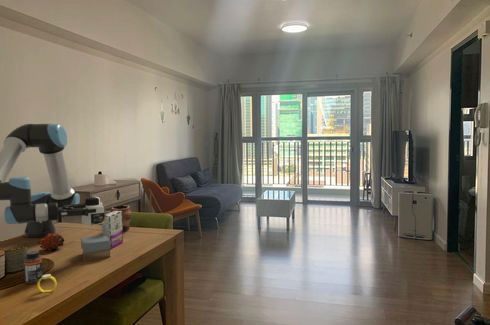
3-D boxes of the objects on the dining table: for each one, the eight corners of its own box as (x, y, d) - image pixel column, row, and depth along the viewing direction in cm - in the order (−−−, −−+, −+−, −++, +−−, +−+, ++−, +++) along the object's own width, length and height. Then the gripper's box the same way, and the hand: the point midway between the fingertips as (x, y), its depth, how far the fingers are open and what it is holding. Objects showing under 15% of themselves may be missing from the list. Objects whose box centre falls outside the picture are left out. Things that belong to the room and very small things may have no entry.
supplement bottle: (30, 278, 140) (28, 249, 139) (46, 277, 140) (44, 249, 139) (21, 284, 134) (20, 254, 133) (38, 284, 134) (37, 254, 133)
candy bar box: (114, 242, 186) (113, 210, 185) (123, 242, 185) (122, 210, 184) (101, 248, 175) (100, 215, 174) (111, 249, 174) (110, 215, 173)
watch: (37, 294, 126) (35, 278, 126) (40, 291, 129) (38, 275, 128) (55, 292, 127) (53, 275, 127) (58, 288, 130) (56, 272, 129)
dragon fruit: (66, 252, 175) (40, 257, 174) (68, 238, 182) (43, 243, 180) (60, 241, 170) (32, 246, 168) (62, 227, 176) (36, 232, 174)
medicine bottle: (91, 226, 160) (90, 199, 159) (81, 224, 163) (80, 197, 162) (105, 222, 166) (104, 196, 165) (95, 220, 169) (94, 195, 168)
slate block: (81, 246, 168) (80, 237, 168) (106, 242, 173) (106, 234, 173) (83, 253, 159) (83, 244, 158) (109, 249, 164) (109, 240, 163)
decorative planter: (129, 235, 199) (128, 210, 198) (105, 236, 197) (104, 210, 196) (134, 225, 219) (133, 203, 218) (112, 226, 217) (112, 203, 216)
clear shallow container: (82, 254, 169) (82, 246, 168) (107, 250, 174) (107, 242, 173) (83, 261, 159) (83, 252, 159) (110, 257, 164) (110, 249, 163)
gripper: (49, 215, 167) (102, 210, 176) (46, 226, 147) (105, 220, 156) (49, 199, 166) (101, 195, 176) (45, 208, 146) (104, 203, 155)
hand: (103, 207), depth 166 cm, fingers closed on medicine bottle, 10 cm apart
